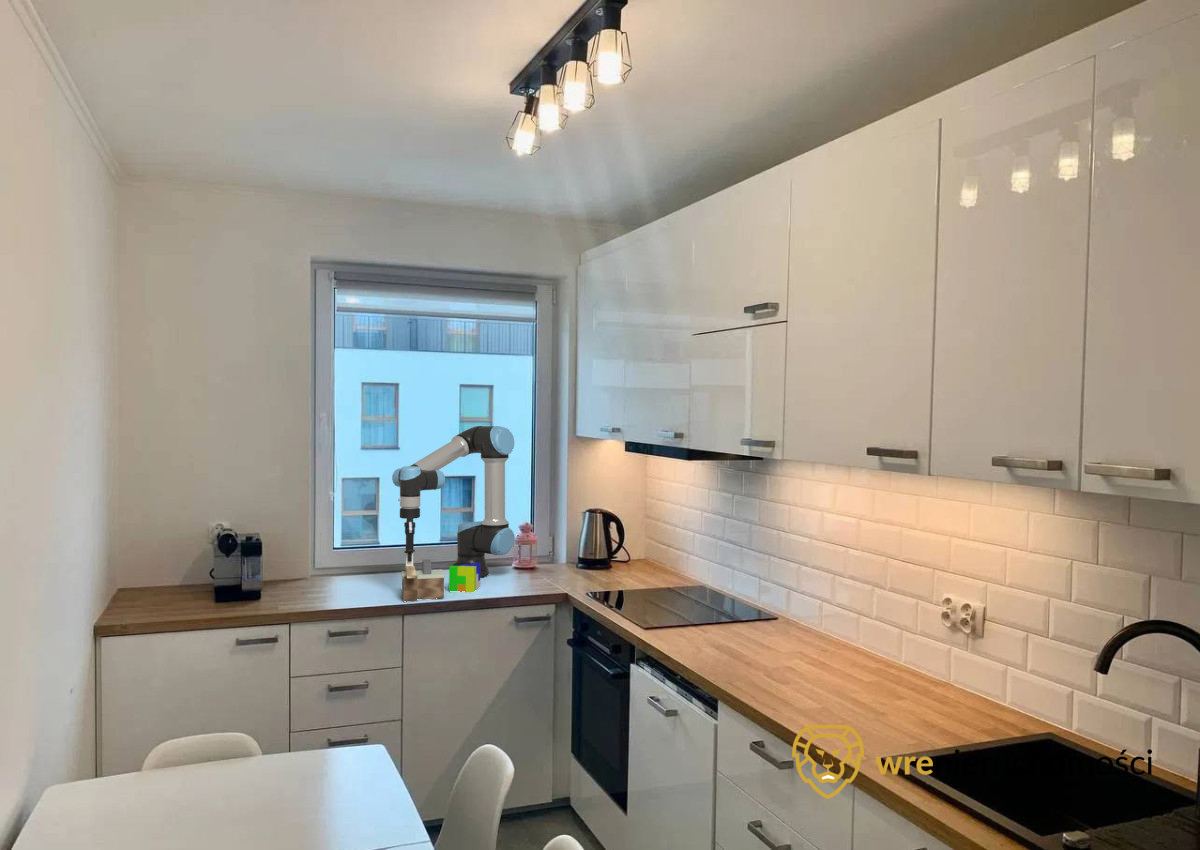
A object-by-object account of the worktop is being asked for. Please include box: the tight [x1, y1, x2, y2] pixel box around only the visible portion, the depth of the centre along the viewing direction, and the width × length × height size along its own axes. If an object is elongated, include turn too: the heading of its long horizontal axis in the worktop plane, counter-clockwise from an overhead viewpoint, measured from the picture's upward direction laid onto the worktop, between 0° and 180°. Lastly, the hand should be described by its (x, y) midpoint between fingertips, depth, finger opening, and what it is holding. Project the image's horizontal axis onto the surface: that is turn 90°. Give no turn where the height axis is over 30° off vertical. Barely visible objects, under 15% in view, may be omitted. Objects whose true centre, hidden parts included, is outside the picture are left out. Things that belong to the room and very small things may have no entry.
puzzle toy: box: [448, 562, 481, 592], centre depth 340 cm, size 10×10×10 cm
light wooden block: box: [405, 565, 416, 578], centre depth 319 cm, size 3×8×3 cm, turn 16°
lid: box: [400, 559, 446, 580], centre depth 328 cm, size 16×10×7 cm
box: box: [401, 576, 445, 602], centre depth 327 cm, size 15×13×9 cm
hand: (409, 569), depth 324 cm, fingers closed
